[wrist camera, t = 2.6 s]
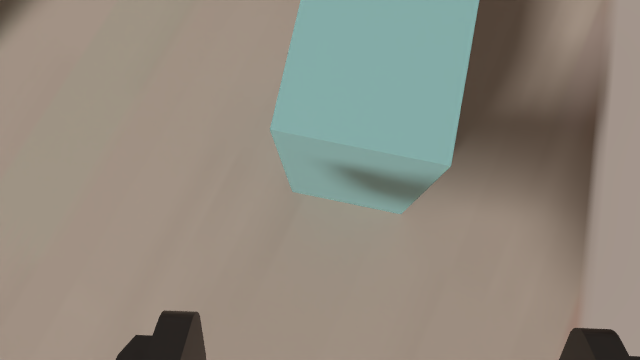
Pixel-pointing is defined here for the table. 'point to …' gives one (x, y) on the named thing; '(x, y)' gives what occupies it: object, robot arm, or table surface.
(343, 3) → the pillar
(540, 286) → the table surface
